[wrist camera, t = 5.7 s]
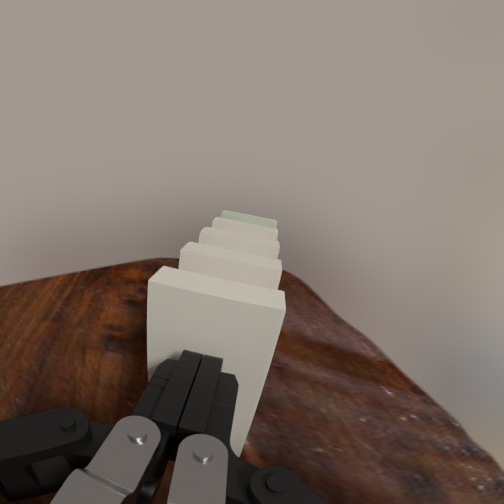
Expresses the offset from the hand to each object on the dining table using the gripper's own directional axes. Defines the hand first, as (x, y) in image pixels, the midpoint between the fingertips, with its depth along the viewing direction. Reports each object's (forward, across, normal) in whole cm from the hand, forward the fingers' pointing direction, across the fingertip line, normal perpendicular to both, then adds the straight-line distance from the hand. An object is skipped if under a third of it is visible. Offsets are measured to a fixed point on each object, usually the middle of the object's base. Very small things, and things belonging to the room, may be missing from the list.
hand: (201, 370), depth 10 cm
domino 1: (+2, 0, +7) cm, 7 cm away
